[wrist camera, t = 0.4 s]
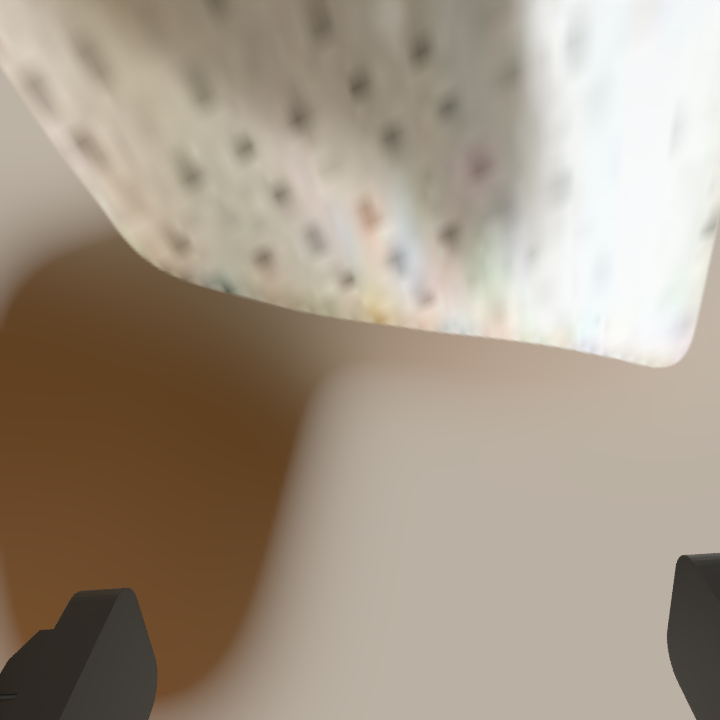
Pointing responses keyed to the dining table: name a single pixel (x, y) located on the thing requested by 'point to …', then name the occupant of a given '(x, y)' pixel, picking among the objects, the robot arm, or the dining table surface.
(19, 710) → the robot arm
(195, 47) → the dining table surface
